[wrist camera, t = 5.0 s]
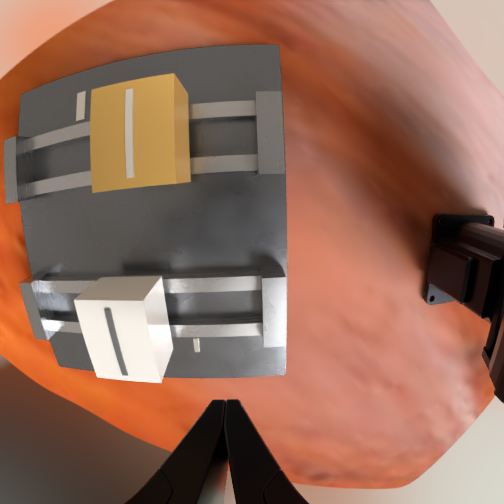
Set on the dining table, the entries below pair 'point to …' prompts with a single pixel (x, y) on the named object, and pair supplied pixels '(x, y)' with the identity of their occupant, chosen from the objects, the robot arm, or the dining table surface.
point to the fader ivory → (126, 327)
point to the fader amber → (139, 134)
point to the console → (164, 213)
